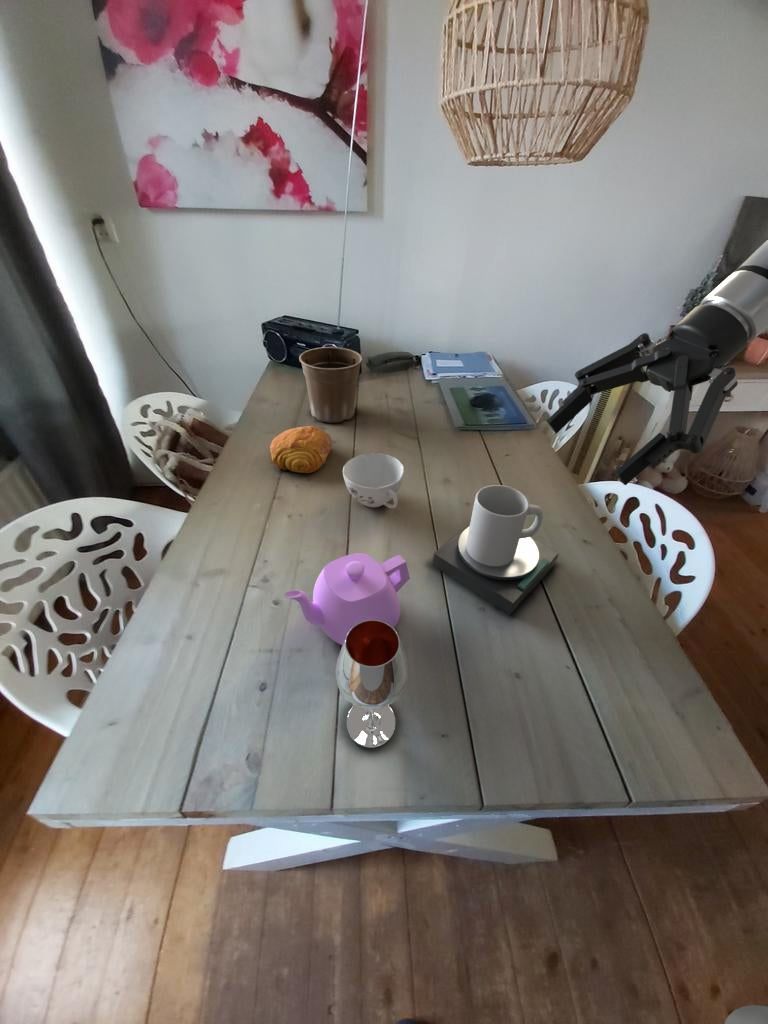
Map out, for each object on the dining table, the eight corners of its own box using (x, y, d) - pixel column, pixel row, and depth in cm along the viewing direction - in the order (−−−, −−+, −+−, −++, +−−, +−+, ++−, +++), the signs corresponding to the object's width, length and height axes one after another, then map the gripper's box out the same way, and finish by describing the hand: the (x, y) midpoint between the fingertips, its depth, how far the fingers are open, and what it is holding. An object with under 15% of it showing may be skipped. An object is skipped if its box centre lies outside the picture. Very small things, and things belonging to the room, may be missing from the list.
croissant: (337, 452, 113) (338, 422, 109) (322, 479, 99) (322, 446, 95) (282, 445, 114) (281, 415, 110) (260, 471, 101) (257, 438, 96)
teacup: (333, 492, 96) (332, 461, 91) (383, 476, 101) (384, 446, 96) (367, 532, 86) (367, 500, 81) (420, 513, 91) (423, 481, 86)
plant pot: (361, 400, 132) (361, 346, 121) (363, 427, 119) (362, 368, 109) (306, 401, 130) (301, 346, 120) (302, 427, 118) (296, 368, 108)
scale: (554, 564, 81) (560, 550, 78) (509, 615, 71) (514, 601, 69) (481, 524, 89) (484, 510, 87) (432, 565, 80) (434, 550, 77)
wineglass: (414, 735, 56) (426, 655, 45) (357, 769, 53) (355, 692, 42) (382, 683, 62) (386, 600, 50) (329, 711, 58) (320, 629, 47)
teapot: (278, 610, 71) (268, 562, 64) (386, 568, 79) (388, 521, 72) (309, 678, 62) (302, 630, 55) (427, 622, 70) (434, 575, 63)
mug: (473, 569, 73) (484, 518, 66) (460, 534, 80) (469, 485, 73) (541, 564, 74) (559, 514, 67) (523, 530, 81) (538, 482, 74)
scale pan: (552, 550, 78) (553, 547, 78) (511, 594, 70) (512, 590, 70) (485, 515, 86) (486, 511, 85) (442, 550, 77) (442, 547, 77)
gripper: (833, 383, 47) (664, 519, 52) (650, 317, 65) (539, 423, 70) (833, 336, 42) (647, 491, 47) (636, 278, 60) (517, 396, 65)
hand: (582, 451), depth 59 cm, fingers open, 13 cm apart
